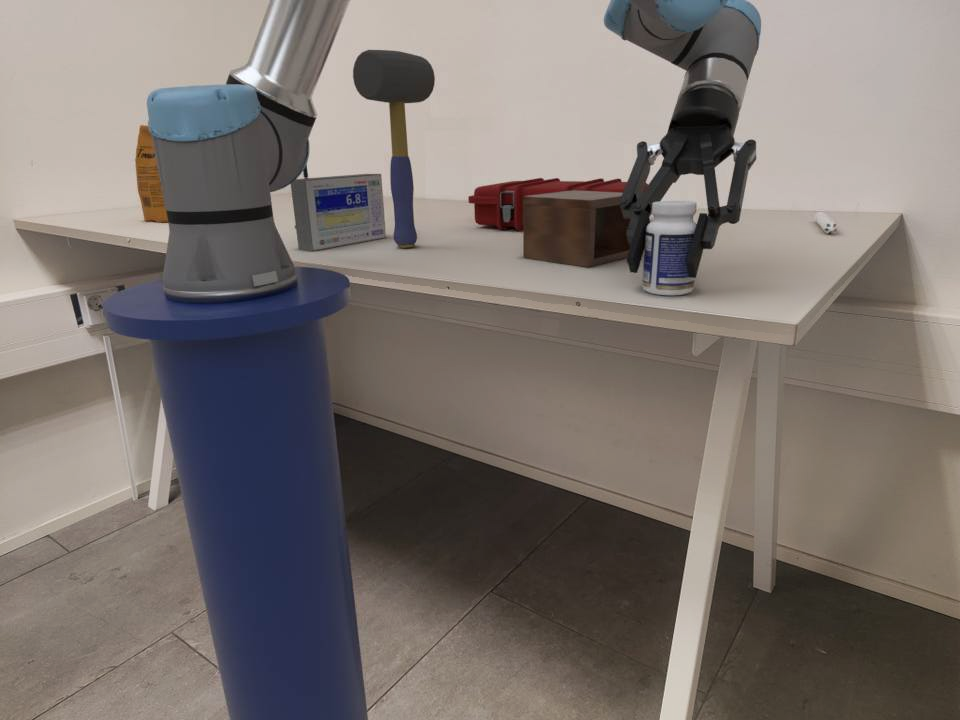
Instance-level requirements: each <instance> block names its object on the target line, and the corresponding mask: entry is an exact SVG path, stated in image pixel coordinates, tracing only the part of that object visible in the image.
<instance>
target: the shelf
mask: <svg viewBox="0 0 960 720" xmlns="http://www.w3.org/2000/svg"><path fill="white" fill-rule="evenodd" d="M622 194H623V193H619V192H598V191H577V190H572V191H564V192H555V193H547V194H538V195H530V196H524V197H523V204H524V205H523V230H522V232H523V233H522V235H523V238H522V239H523V240H522V241H523V242H522V245H523V248H522V250H523V251H522V254H523V255H522V257H523V258H524V259H529V260H536V261H542V262H549V263H550V262H551V263H556V264H564V265H570V266H575V267H577V266H578V267H583V268H591V267H595V266H596V267H597V266H599V265H603V264H607V263H612V262H614V261H615V262H616V261H620V260H623V259H626V258H627V254H628V251H629V248H630V245H631V244H629V242H628V239H627V234H626V232H627V229H628V226H629V223H630V220H631V219H624V218H623V215H622V211H621V208H620V204H619V201H620V199H621V196H622Z"/></svg>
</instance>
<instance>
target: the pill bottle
mask: <svg viewBox="0 0 960 720" xmlns="http://www.w3.org/2000/svg"><path fill="white" fill-rule="evenodd" d="M696 214H697V202H696V201H690V200H663V201H662V200H661V201H660V202H654V203H653V204H652V214H651V215H652V216H653V219H652V221H650V223H649V224H648V225H647V227H646V233H645V248H644V252H643V267H642V280H641V281H642V282H641V283H642V284H641V287H642V289H643V290H644V291H645V292H646V293H648V294H653V295H658V296H683V295H687V294H690V293H691V292H693V290H694V288H695V281H696V280H695V279H696V278H691V277H688V271H687V265H686V261H687V258H688V254H689V250H690V247H691V243H692V240H693V236H694V232H695V229H696V225H697V222H695V221H694V216H695V215H696Z"/></svg>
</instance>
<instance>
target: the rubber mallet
mask: <svg viewBox="0 0 960 720" xmlns="http://www.w3.org/2000/svg"><path fill="white" fill-rule="evenodd" d="M352 79H353V85H354V86H355V89H356V91H357V93H358V94H359V95H360V96H361V97H362V98H364V99H366V100H369V101H375V102H380V103H387V104H388V107H389V108H388V109H389V121H390V122H389V124H390V140H391V142H390V143H391V158H390V165H389V166H390V168H389V171H390V172H389V173H390V174H389V177H390V178H389V179H390V180H389V181H390V193H391V197H392V202H393V203H392V204H393V216H394V230H393V240H394V242H395V244H396V247H398V248H401V249H410V248H413V247H415V245H416V243H417V240H418V234H417V230H416V227H415V226H416V225H415V215H414V187H415V186H414V176H413V169H412V162H411V159H410V157H409V146H408V133H407V120H406V119H407V118H406V106H405V105H406V104H416V103H417V104H418V103H422V102H425V101H426V100H427V99H429V98H430V96H431V95H432V93H433V92H434V87H435V83H436V82H435V81H436V77H435V71H434V68H433V66H432V64H431V63H430V62H429V60H427V58H425V57H424V56H421V55H416V54H413V53H409V52H405V51H400V50H388V49H367V50H364V51H361V52H360V53H359V55H358V56H357V57H356V60H355V61H354V64H353V68H352Z"/></svg>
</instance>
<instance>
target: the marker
mask: <svg viewBox="0 0 960 720" xmlns="http://www.w3.org/2000/svg"><path fill="white" fill-rule="evenodd" d="M814 221H815V222H816V223H817V224H818V226H819V227H820V228H821V229H822V230H823V232H824V233H825V234H828V235H832V234H834V233H836V232H837V230H838V226H837V223H836V222H835V221H834V220H833V219H831V217H830V216H829V215H828V214H827V213H826V212H824V211H819V212H816V213H815V215H814Z"/></svg>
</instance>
